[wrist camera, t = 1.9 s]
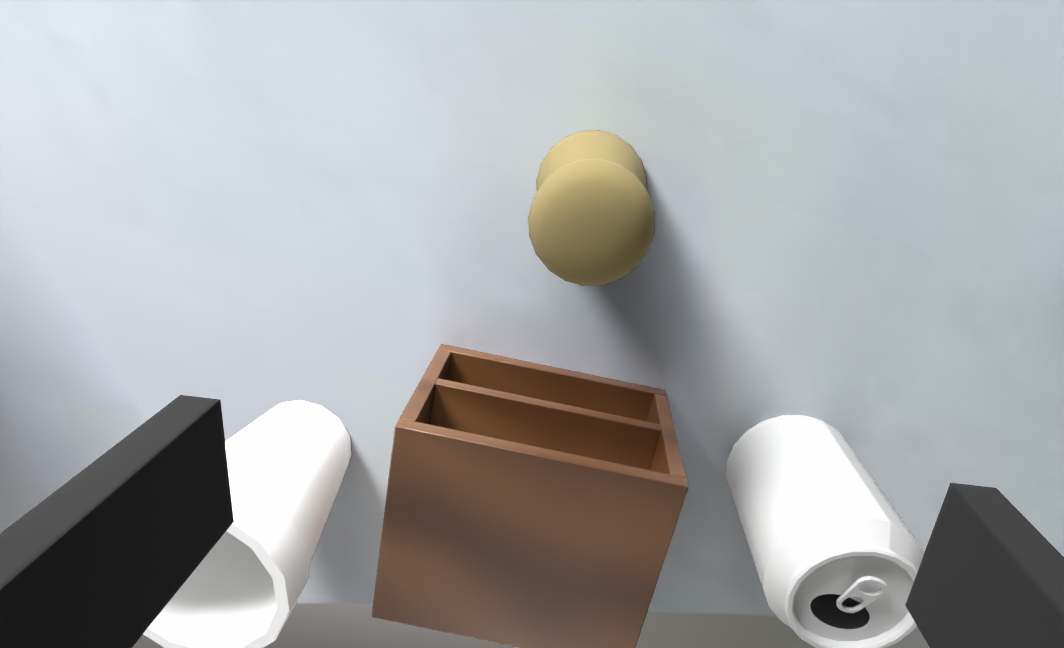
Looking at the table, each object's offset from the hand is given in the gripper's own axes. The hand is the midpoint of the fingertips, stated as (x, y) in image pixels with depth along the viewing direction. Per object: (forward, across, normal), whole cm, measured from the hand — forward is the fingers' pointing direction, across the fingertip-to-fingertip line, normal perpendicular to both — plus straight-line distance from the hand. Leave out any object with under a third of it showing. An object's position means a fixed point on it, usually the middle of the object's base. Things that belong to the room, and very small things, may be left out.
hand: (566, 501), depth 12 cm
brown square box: (+26, -2, -15) cm, 30 cm away
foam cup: (+26, -17, -17) cm, 35 cm away
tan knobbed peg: (+26, 0, +2) cm, 26 cm away
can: (+26, +14, -14) cm, 33 cm away
